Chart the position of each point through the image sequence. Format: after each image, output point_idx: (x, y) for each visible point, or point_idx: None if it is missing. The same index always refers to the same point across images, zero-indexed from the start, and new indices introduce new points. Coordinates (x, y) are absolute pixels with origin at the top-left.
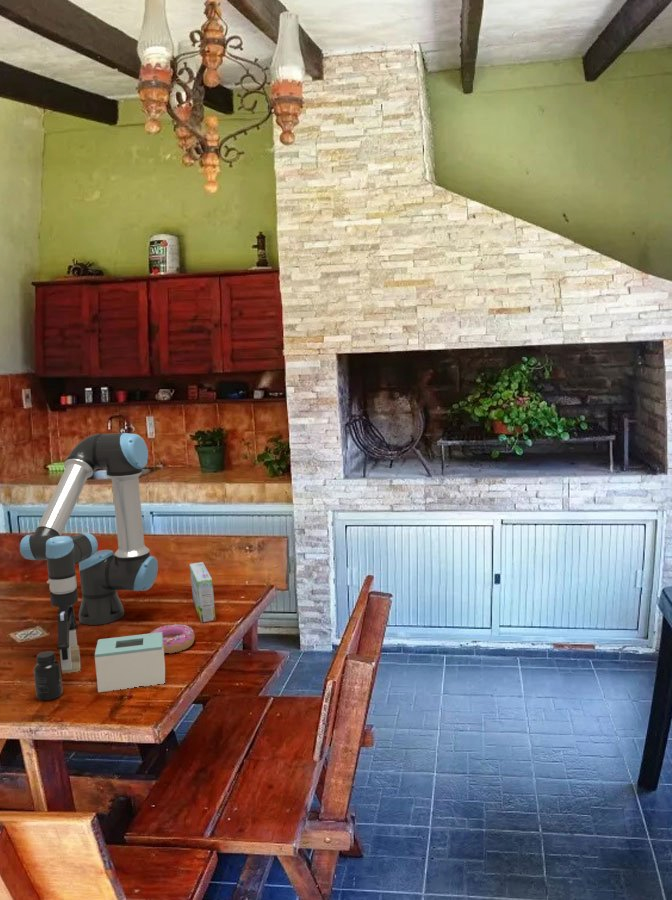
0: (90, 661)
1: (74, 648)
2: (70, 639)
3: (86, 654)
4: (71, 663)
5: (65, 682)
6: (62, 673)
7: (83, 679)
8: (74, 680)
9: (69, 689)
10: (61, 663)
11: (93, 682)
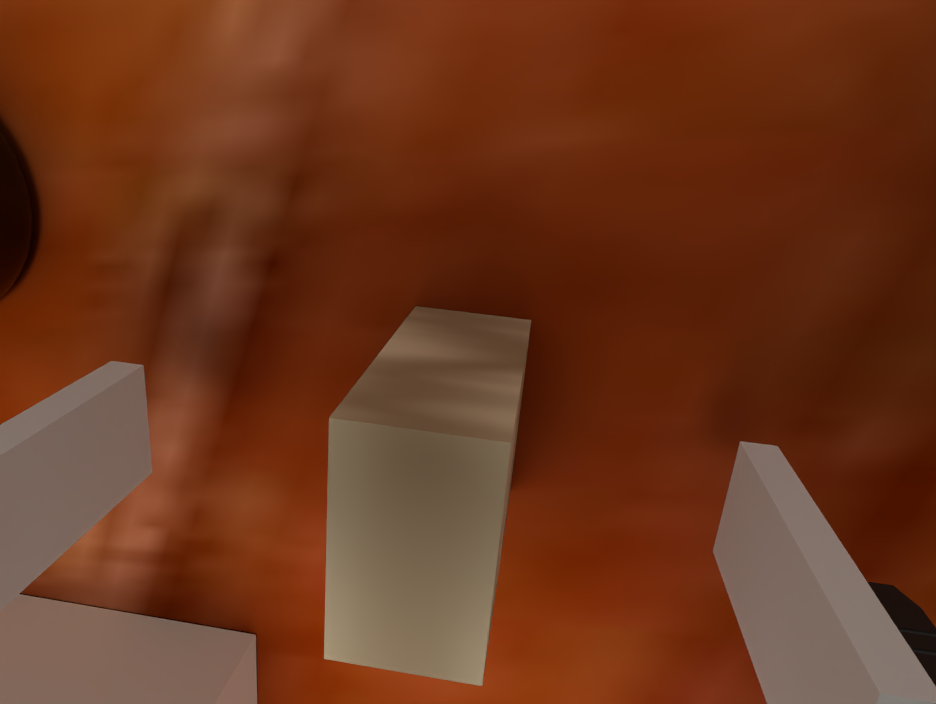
0: (635, 580)
1: (381, 623)
2: (783, 612)
3: (867, 560)
4: (114, 505)
5: (195, 338)
6: (414, 312)
7: (219, 494)
8: (219, 420)
9: (34, 372)
10: (47, 403)
11: (135, 564)
